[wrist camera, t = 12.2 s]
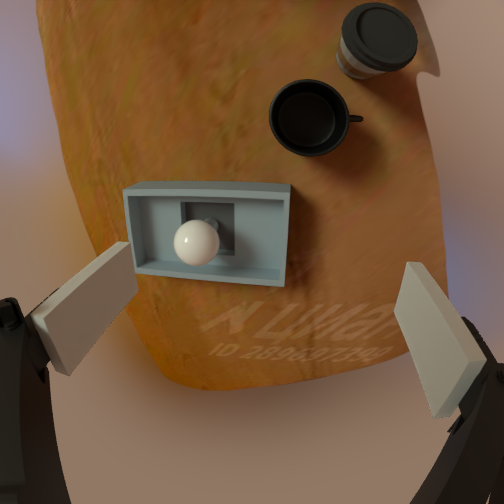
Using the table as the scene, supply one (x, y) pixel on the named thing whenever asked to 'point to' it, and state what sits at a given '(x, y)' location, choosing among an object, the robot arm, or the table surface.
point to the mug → (310, 117)
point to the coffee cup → (375, 41)
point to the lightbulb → (197, 241)
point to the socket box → (230, 230)
